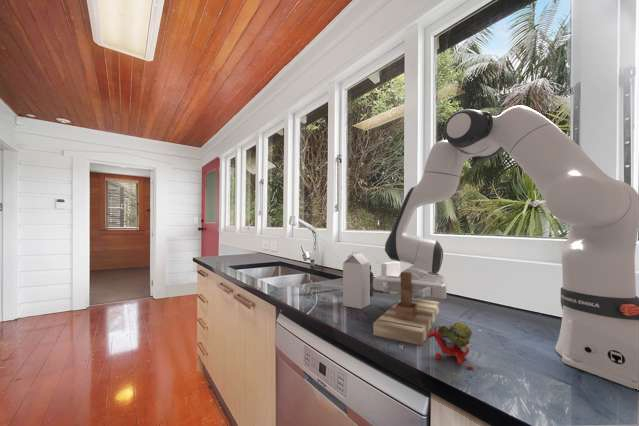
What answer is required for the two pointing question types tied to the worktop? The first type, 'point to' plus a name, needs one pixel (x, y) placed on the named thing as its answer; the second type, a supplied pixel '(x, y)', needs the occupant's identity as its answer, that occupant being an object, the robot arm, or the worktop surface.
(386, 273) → the cylinder with rectangular tab
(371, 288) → the supplement bottle
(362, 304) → the milk carton
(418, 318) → the slatted pale wooden block
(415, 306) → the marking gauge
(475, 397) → the worktop surface
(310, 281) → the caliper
